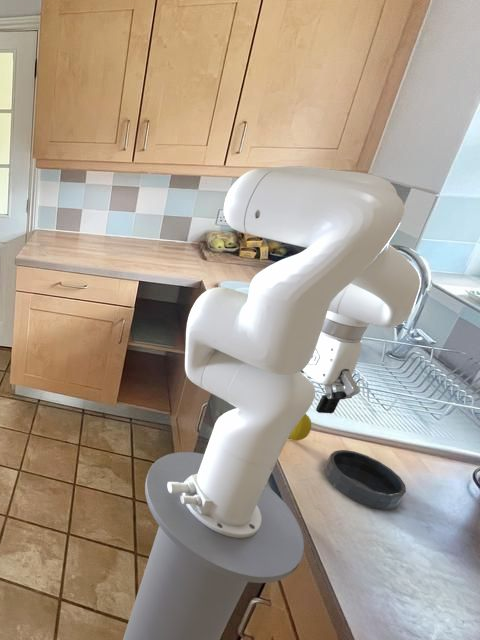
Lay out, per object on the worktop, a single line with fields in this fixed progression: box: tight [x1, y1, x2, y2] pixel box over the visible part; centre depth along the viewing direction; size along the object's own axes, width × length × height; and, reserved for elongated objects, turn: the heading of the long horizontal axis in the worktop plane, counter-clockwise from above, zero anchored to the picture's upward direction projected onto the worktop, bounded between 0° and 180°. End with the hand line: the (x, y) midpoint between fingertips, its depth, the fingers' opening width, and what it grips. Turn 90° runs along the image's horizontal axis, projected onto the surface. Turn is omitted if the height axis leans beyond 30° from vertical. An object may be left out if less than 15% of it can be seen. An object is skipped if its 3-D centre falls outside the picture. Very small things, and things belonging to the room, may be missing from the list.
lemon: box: [287, 413, 312, 441], centre depth 92 cm, size 6×6×8 cm
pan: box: [323, 449, 407, 511], centre depth 82 cm, size 11×11×4 cm
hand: (306, 396), depth 88 cm, fingers open, 9 cm apart
